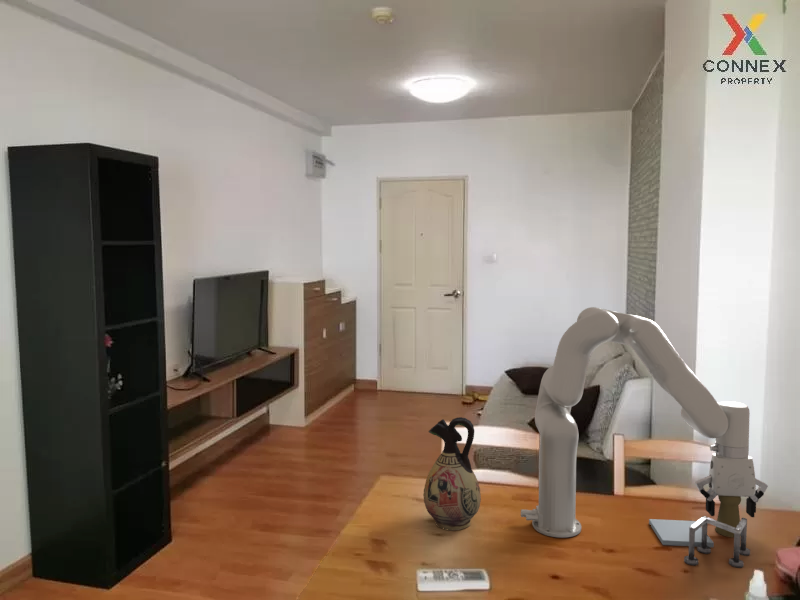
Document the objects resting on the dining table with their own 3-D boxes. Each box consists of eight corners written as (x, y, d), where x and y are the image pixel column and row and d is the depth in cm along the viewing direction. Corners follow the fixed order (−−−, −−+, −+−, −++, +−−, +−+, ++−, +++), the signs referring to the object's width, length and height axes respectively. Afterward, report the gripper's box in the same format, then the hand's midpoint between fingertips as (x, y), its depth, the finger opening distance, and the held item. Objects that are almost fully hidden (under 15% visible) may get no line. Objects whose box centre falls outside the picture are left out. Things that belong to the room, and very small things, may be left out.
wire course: (686, 565, 141) (687, 529, 140) (674, 546, 149) (675, 512, 149) (764, 569, 138) (765, 532, 138) (746, 549, 147) (748, 515, 147)
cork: (745, 538, 153) (746, 496, 152) (719, 536, 154) (720, 494, 154) (736, 527, 159) (738, 487, 158) (712, 525, 160) (713, 485, 159)
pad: (662, 544, 150) (663, 540, 150) (649, 523, 162) (649, 519, 162) (713, 547, 149) (713, 542, 149) (695, 525, 161) (696, 521, 161)
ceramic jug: (415, 531, 159) (414, 420, 156) (434, 508, 173) (433, 405, 170) (478, 542, 152) (478, 426, 150) (492, 517, 166) (492, 411, 164)
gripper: (701, 454, 152) (700, 520, 154) (774, 455, 150) (773, 522, 152) (691, 445, 160) (690, 507, 161) (760, 446, 158) (759, 509, 159)
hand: (730, 514), depth 156 cm, fingers open, 9 cm apart
